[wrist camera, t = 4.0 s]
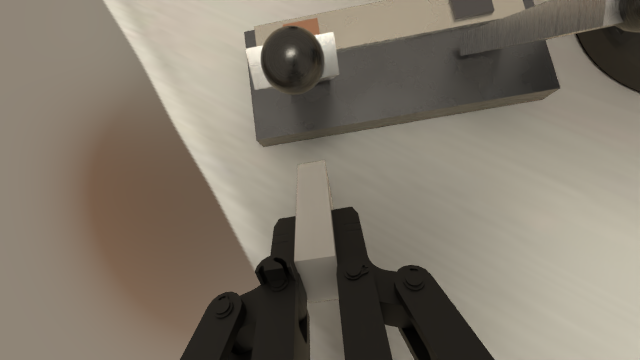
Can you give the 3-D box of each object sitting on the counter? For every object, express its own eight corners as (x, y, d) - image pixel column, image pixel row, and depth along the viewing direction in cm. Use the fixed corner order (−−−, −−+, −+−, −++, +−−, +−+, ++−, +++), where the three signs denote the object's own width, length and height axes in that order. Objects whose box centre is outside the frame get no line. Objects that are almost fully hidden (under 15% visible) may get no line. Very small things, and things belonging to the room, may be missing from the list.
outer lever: (332, 85, 23) (343, 87, 11) (289, 93, 23) (250, 103, 11) (326, 51, 22) (332, 9, 10) (282, 60, 23) (231, 29, 10)
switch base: (542, 99, 24) (566, 84, 21) (263, 146, 25) (254, 137, 23) (511, -5, 25) (529, -31, 23) (251, 45, 27) (241, 26, 24)
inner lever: (506, 54, 22) (745, 14, 10) (460, 62, 23) (635, 34, 10) (508, 17, 21) (771, -78, 9) (460, 26, 22) (650, -54, 9)
